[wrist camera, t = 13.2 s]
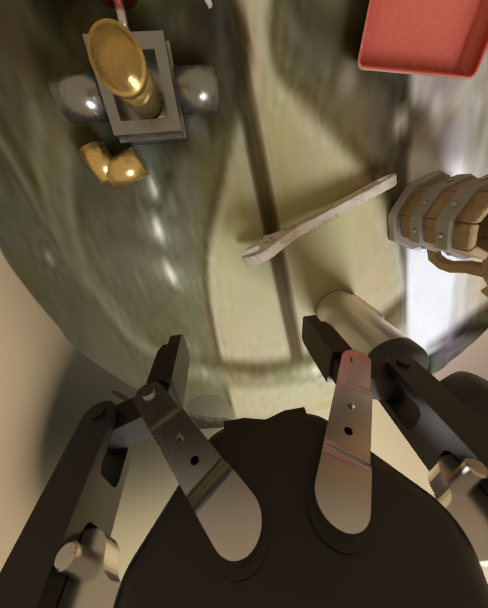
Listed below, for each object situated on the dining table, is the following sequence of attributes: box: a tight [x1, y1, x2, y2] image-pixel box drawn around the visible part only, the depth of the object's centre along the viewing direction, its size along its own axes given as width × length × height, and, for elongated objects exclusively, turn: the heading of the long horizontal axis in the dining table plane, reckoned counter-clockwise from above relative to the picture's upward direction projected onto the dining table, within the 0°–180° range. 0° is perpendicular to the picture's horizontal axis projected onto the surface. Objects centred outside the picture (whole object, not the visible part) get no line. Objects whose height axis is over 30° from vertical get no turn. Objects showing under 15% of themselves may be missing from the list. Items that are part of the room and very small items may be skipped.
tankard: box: [388, 171, 488, 297], centre depth 35 cm, size 20×13×15 cm, turn 25°
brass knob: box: [87, 18, 162, 118], centre depth 22 cm, size 5×5×8 cm
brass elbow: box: [78, 141, 150, 190], centre depth 29 cm, size 7×4×6 cm
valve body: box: [48, 0, 220, 146], centre depth 24 cm, size 19×13×5 cm
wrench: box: [242, 174, 397, 266], centre depth 35 cm, size 8×2×30 cm
